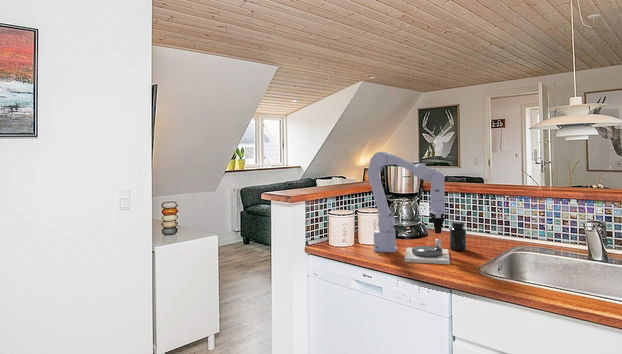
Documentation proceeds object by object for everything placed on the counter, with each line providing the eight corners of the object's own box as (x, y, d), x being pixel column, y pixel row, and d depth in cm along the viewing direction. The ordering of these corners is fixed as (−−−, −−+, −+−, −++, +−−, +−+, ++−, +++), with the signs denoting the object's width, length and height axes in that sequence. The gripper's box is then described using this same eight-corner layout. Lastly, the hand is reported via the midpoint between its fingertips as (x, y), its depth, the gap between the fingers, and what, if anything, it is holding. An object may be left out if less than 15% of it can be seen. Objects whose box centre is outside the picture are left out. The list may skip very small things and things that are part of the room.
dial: (411, 256, 153) (411, 241, 153) (412, 248, 164) (412, 235, 164) (442, 257, 149) (442, 243, 149) (441, 249, 161) (441, 236, 160)
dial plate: (404, 261, 152) (404, 257, 151) (407, 250, 168) (407, 247, 168) (449, 264, 146) (449, 260, 146) (447, 252, 163) (447, 248, 163)
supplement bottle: (467, 251, 163) (467, 224, 163) (451, 251, 165) (450, 224, 164) (464, 247, 170) (464, 221, 169) (448, 247, 172) (448, 221, 171)
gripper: (448, 202, 152) (448, 235, 153) (446, 197, 166) (447, 228, 167) (430, 202, 154) (430, 235, 155) (429, 197, 168) (430, 228, 169)
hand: (437, 231), depth 161 cm, fingers open, 6 cm apart
